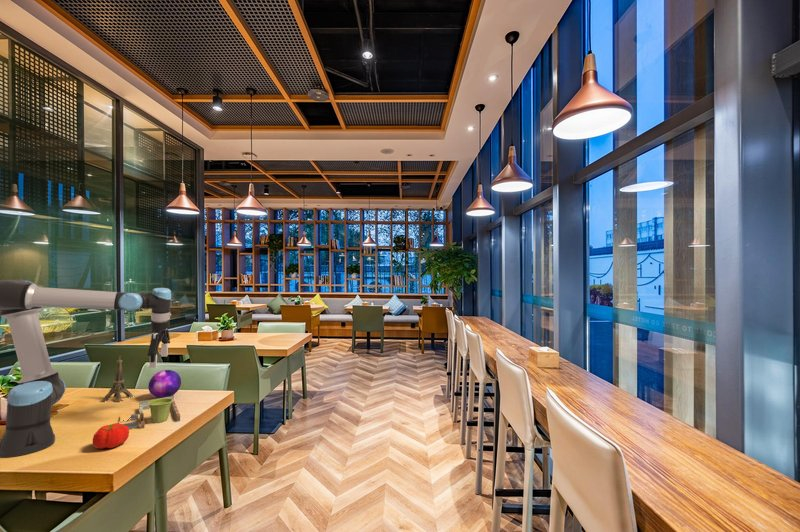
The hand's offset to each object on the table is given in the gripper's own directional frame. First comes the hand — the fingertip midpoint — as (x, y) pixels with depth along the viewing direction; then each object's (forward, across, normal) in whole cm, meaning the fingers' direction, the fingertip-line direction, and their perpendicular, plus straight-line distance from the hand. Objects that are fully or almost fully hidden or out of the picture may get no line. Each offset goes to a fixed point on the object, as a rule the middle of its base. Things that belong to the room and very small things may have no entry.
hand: (158, 361), depth 171 cm
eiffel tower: (+32, +23, +26) cm, 48 cm away
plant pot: (+21, -16, -7) cm, 28 cm away
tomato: (+16, -40, +2) cm, 43 cm away
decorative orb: (+30, +19, +3) cm, 35 cm away
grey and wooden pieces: (+23, -10, 0) cm, 25 cm away
